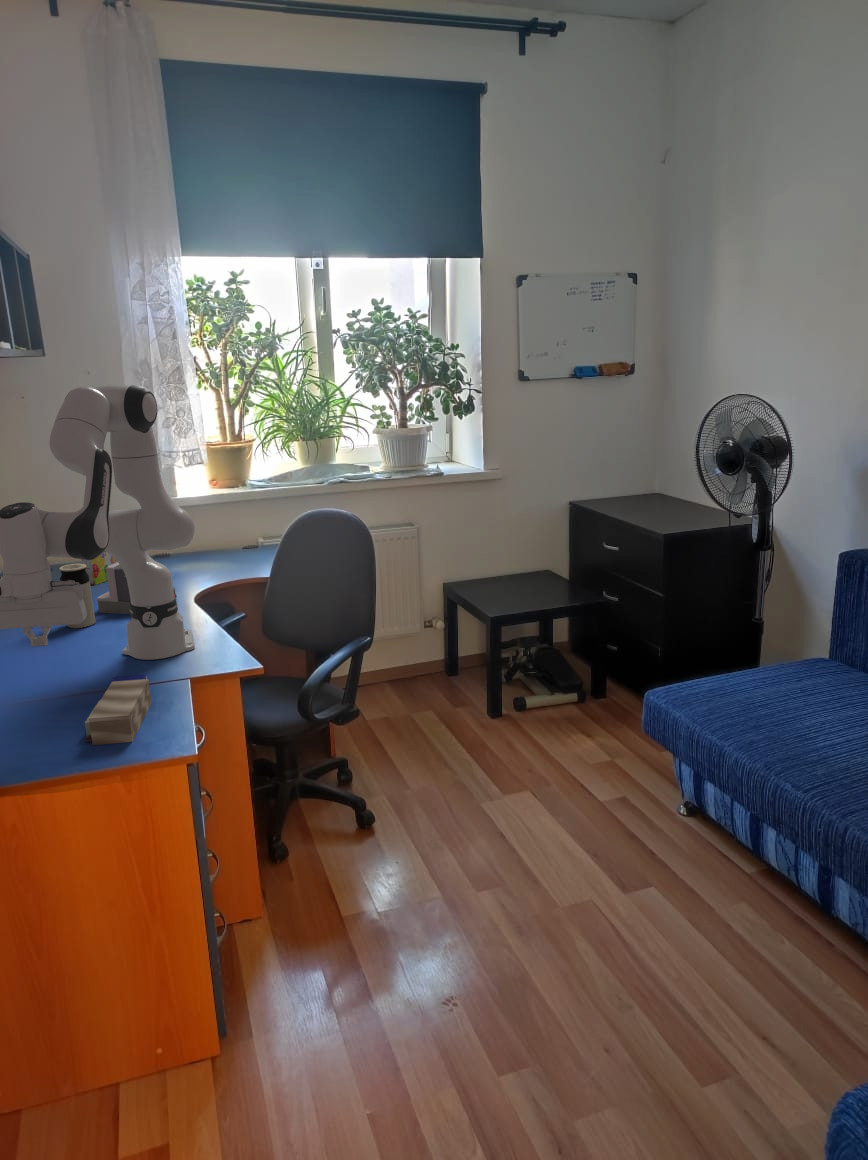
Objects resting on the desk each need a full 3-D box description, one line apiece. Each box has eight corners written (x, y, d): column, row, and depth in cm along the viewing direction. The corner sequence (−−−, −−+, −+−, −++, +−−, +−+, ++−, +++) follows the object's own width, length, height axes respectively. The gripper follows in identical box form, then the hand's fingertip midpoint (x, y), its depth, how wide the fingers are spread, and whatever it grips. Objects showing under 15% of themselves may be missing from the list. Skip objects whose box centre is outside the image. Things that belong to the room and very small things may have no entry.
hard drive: (141, 691, 199) (146, 673, 211) (105, 695, 198) (112, 676, 209) (142, 698, 200) (147, 678, 212) (105, 701, 198) (113, 682, 210)
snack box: (129, 569, 317) (123, 530, 313) (140, 570, 315) (135, 531, 311) (84, 584, 299) (78, 542, 295) (95, 585, 297) (89, 543, 293)
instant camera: (134, 593, 285) (129, 550, 281) (186, 598, 278) (181, 554, 274) (90, 612, 266) (83, 566, 262) (144, 617, 259) (138, 570, 255)
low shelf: (106, 706, 194) (103, 682, 193) (151, 703, 195) (148, 678, 194) (82, 745, 175) (78, 719, 173) (132, 741, 176) (128, 715, 174)
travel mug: (85, 629, 249) (76, 570, 244) (61, 628, 251) (52, 569, 246) (100, 620, 257) (92, 563, 252) (77, 620, 258) (68, 562, 254)
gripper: (85, 575, 179) (94, 636, 183) (-17, 581, 177) (-5, 643, 181) (77, 583, 173) (87, 647, 177) (-29, 590, 171) (-16, 654, 175)
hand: (40, 645), depth 179 cm, fingers closed
